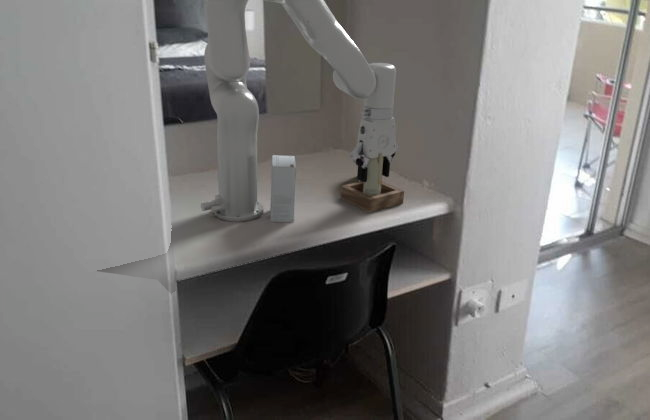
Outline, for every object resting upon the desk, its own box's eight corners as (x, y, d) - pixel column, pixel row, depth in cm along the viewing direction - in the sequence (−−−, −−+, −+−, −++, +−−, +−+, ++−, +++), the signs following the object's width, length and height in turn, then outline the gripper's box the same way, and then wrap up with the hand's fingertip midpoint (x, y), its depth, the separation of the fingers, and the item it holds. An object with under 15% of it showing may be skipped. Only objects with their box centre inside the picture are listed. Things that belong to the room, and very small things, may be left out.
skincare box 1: (270, 209, 154) (270, 154, 148) (293, 209, 155) (294, 154, 149) (270, 223, 146) (270, 165, 141) (295, 223, 147) (296, 165, 141)
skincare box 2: (378, 197, 159) (382, 153, 154) (362, 196, 159) (365, 151, 155) (381, 189, 164) (385, 146, 160) (365, 188, 165) (368, 145, 161)
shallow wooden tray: (369, 212, 155) (370, 199, 154) (340, 197, 164) (341, 185, 162) (403, 203, 162) (404, 191, 161) (373, 189, 171) (374, 178, 169)
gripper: (361, 120, 146) (357, 188, 153) (412, 112, 156) (406, 176, 163) (342, 113, 151) (338, 179, 158) (392, 106, 161) (387, 168, 168)
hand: (373, 177), depth 160 cm, fingers closed on skincare box 2, 7 cm apart
